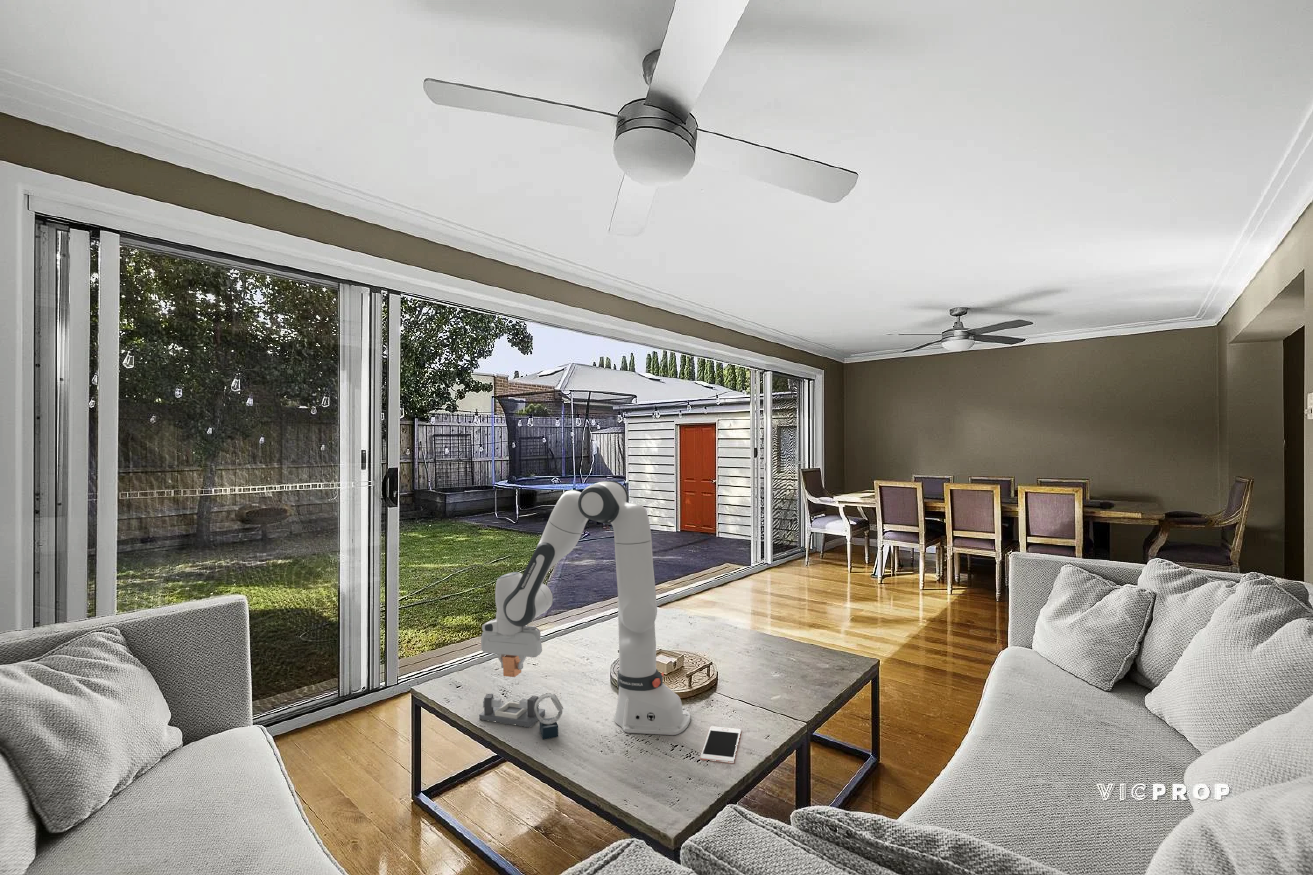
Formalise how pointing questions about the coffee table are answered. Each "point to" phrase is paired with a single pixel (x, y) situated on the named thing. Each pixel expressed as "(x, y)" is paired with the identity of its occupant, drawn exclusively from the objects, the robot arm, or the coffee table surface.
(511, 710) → the stand
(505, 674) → the block
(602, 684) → the coffee table surface
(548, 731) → the watch
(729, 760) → the cell phone
